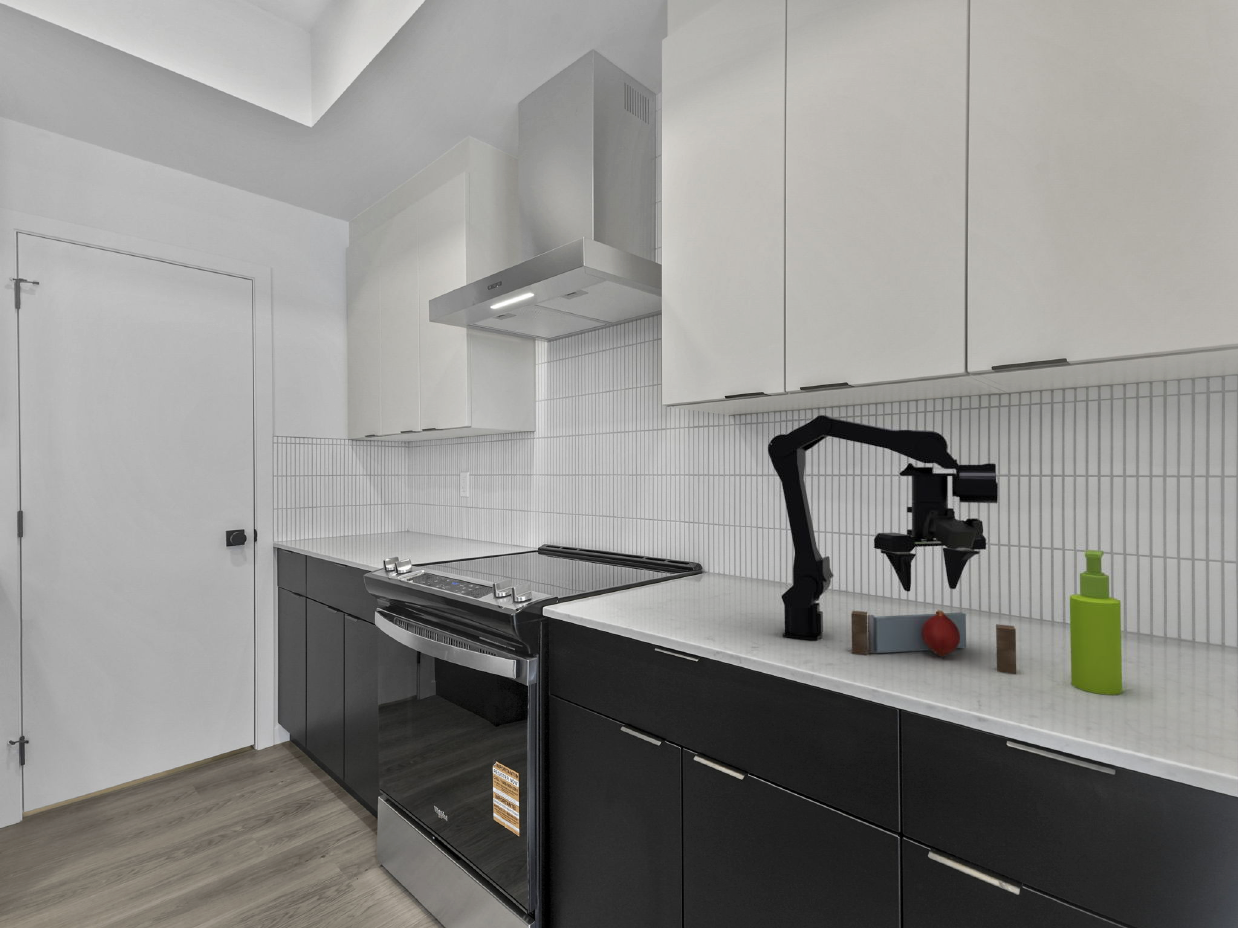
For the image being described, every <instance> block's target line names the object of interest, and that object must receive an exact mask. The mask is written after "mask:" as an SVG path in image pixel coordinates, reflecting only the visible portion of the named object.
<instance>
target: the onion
mask: <svg viewBox="0 0 1238 928" xmlns="http://www.w3.org/2000/svg"><path fill="white" fill-rule="evenodd" d="M944 613H945V612H944V611H943V610H941V609H940V610H939V609H938V610H937V611H935V614H936V615H935V616H932V617H931V618H929V619H928V620H927V621H926V622H925V624H924V626H923V629H922V638H923V640H924V642H925V644H926V645H927V646H928V647H929V648H930V649H931V651H933V652H934V653H935V655H936V656H938V657H941V658H943V657H945V656H947V655H949V654H950V653H952V652H954V651H955V650H956V649H958V648H957V646H958V645H959V642H960V633H959V630H958V628H957V626H956V625H955V624H954V622H953V621H952V620H951V619H950V618H948V617H947V616H946V615H945V614H944Z"/></svg>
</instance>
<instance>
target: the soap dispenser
mask: <svg viewBox="0 0 1238 928" xmlns="http://www.w3.org/2000/svg"><path fill="white" fill-rule="evenodd" d="M1104 555H1105V554H1104V551H1103V550H1094V549H1093V550H1092V549H1087V550H1085V552H1084V557H1085V558H1086V571H1083V572H1081V573H1079V594H1078V593H1077V594H1071V595H1069V626H1070V627H1069V628H1070V632H1069V633H1070V636H1069V637H1070V680H1071V681H1070V684H1071V685H1072V686H1073V687H1075V688H1077V689H1078V690H1081V691H1084V692H1089V693H1093V694H1099V695H1108V696H1110V695H1113V696H1115V695H1120V694H1122V693H1123V671H1122V670H1123V669H1122V668H1123V665H1122V663H1123V662H1122V615H1121V614H1122V613H1121V610H1122V609H1121V600H1119V599H1117V598H1114V597H1111V596H1110V576H1109V575H1107V574H1105V572H1102V558H1103V556H1104Z"/></svg>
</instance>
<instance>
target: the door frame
mask: <svg viewBox="0 0 1238 928" xmlns="http://www.w3.org/2000/svg"><path fill="white" fill-rule="evenodd" d="M850 615H851V616H850V617H851V623H850V624H851V654H855V655H864V656H867V655H868V653H869V652H868V611H861V610H860V611H859V610H852V611H851V613H850ZM995 630H996V631H995V633H996V634H995V637H996V640H995V642H996V648H995V649H996V669H997V672H998V673H1005V674H1012V675H1016V674H1017V637H1016V636H1017V634H1016V633H1017V632H1016V628H1015V626H1014V625H1008V624H997V623H996V624H995Z"/></svg>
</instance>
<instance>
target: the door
mask: <svg viewBox="0 0 1238 928" xmlns="http://www.w3.org/2000/svg"><path fill="white" fill-rule="evenodd" d="M944 614H945V615H946V616H947V617H948V618H950V619H951V620H952V621H953V622H954V624H955V625H956V626H957V628H958V630H959V633H960V642H959V645H958V646H957V648H956V649H960V648H961V649H963V648H964V649H965V648H967V621H966V620H967V618H966V617H967V615H966V613H964V612H962V611H961V612H960V611H959V612H958V611H957V612H944ZM935 615H936V613H921V614H904V615H903V614H901V615H881V616H879V615H878V616H875V615H873V614H867V636H868V652H867V653H870V654H871V653H872V654H874V653H875V652H876V653H877V654H879V653H881V654H882V653H896V652H912V651H913V652H915V651H928V650H931V649H930V648H929V647H928V646H927V645H926V644H925V642H924V640H923V638H922V629H923V626H924V624H925V622H926V621H927V620H928V619H929V618H931V617H932V616H935ZM931 651H932V650H931Z"/></svg>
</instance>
